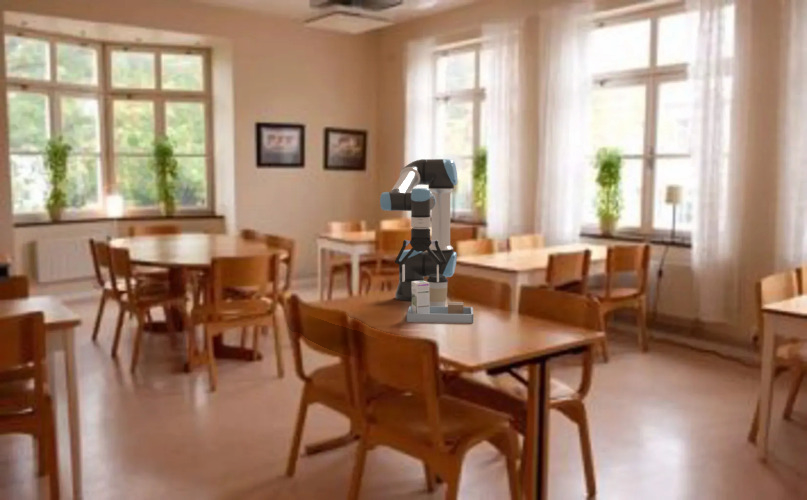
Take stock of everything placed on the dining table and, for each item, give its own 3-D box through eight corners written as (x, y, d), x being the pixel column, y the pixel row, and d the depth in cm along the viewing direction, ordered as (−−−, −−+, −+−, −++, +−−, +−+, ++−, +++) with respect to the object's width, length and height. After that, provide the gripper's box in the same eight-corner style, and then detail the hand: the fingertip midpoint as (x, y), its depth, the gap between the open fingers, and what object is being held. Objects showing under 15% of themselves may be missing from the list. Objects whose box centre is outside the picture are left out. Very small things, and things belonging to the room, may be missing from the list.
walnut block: (448, 316, 271) (448, 301, 271) (463, 317, 271) (463, 302, 270) (447, 319, 265) (448, 304, 265) (463, 320, 265) (463, 304, 264)
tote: (409, 315, 278) (409, 305, 277) (472, 316, 275) (472, 307, 275) (406, 323, 262) (406, 313, 261) (473, 325, 260) (473, 314, 259)
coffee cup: (448, 308, 294) (448, 274, 292) (447, 312, 285) (447, 276, 283) (427, 307, 295) (427, 273, 293) (425, 311, 286) (426, 276, 284)
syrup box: (430, 318, 268) (430, 282, 266) (416, 319, 266) (416, 282, 264) (424, 315, 273) (424, 280, 272) (410, 316, 271) (410, 280, 269)
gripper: (388, 228, 263) (388, 282, 265) (452, 228, 261) (452, 283, 263) (390, 226, 270) (390, 279, 273) (452, 227, 268) (452, 280, 271)
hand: (420, 281), depth 268 cm, fingers open, 13 cm apart
